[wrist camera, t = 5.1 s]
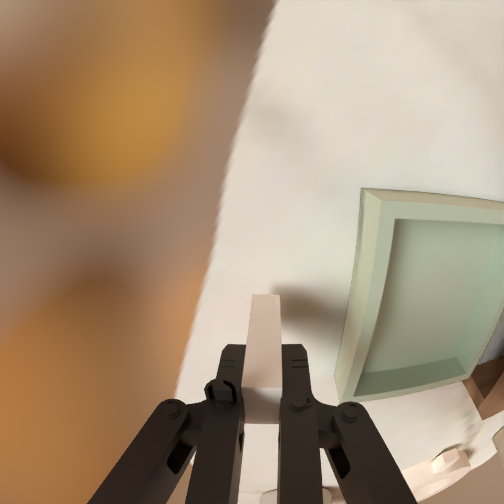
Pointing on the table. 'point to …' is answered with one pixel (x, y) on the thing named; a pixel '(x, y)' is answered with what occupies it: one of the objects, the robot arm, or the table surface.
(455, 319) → the green tray
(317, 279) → the table surface
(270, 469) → the table surface
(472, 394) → the walnut overhang
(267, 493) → the cylinder vase
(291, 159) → the table surface
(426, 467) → the ring with crossbar
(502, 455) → the travel mug
